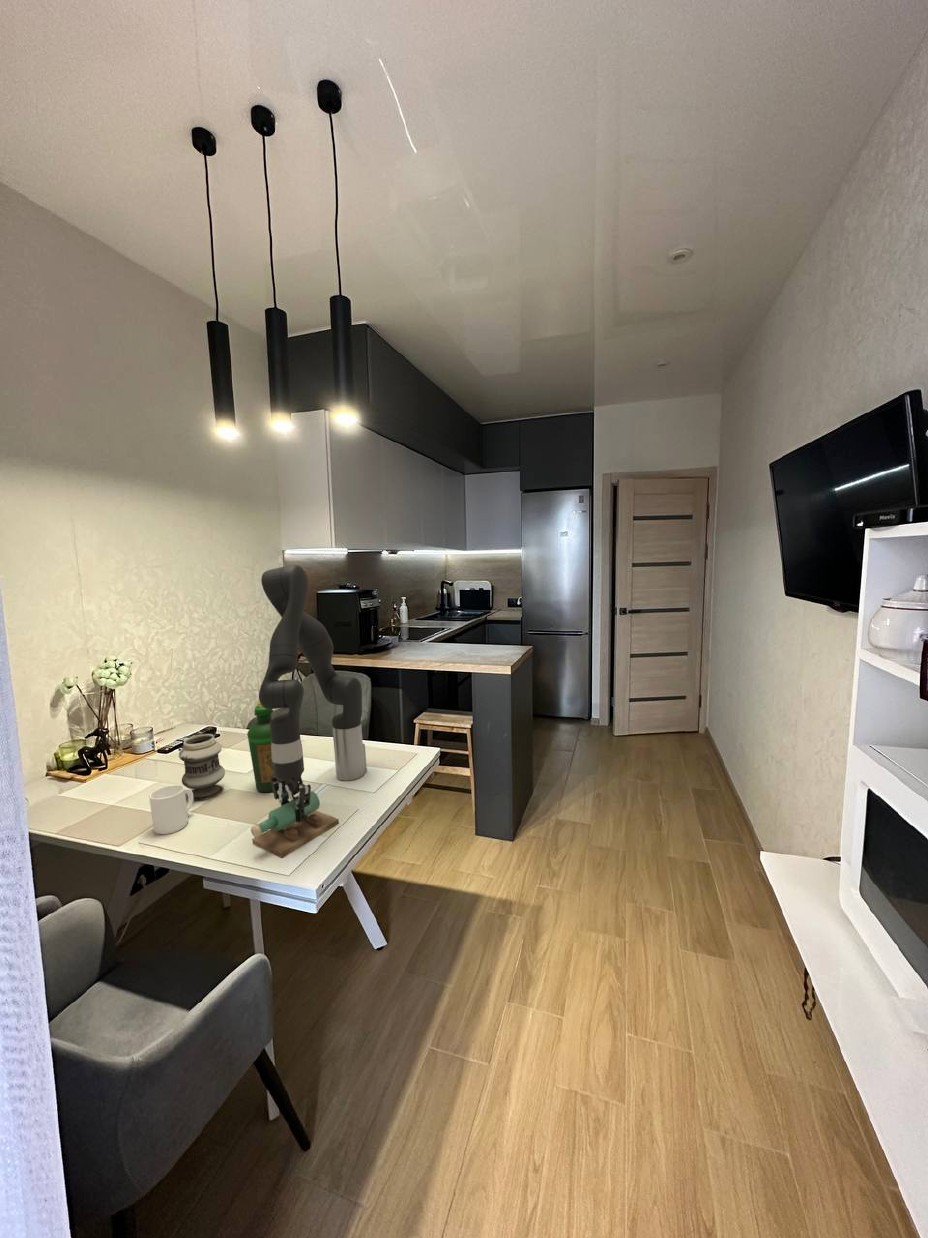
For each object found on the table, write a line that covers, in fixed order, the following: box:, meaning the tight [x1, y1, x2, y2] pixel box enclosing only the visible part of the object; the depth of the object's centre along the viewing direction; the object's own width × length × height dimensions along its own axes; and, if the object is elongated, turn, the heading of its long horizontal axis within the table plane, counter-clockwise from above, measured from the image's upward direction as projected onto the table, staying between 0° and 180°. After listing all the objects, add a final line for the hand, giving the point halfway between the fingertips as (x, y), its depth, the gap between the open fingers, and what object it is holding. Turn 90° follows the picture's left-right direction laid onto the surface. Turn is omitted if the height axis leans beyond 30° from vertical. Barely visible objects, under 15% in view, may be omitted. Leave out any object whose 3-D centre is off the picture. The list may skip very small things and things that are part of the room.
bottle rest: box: [251, 810, 340, 859], centre depth 131 cm, size 18×12×4 cm, turn 146°
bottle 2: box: [250, 790, 321, 838], centre depth 128 cm, size 18×5×5 cm, turn 146°
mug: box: [148, 784, 194, 835], centre depth 138 cm, size 12×8×10 cm
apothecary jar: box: [178, 733, 226, 802], centre depth 155 cm, size 12×12×18 cm
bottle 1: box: [246, 701, 279, 793], centre depth 157 cm, size 11×11×28 cm
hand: (293, 818), depth 130 cm, fingers closed on bottle 2, 5 cm apart
